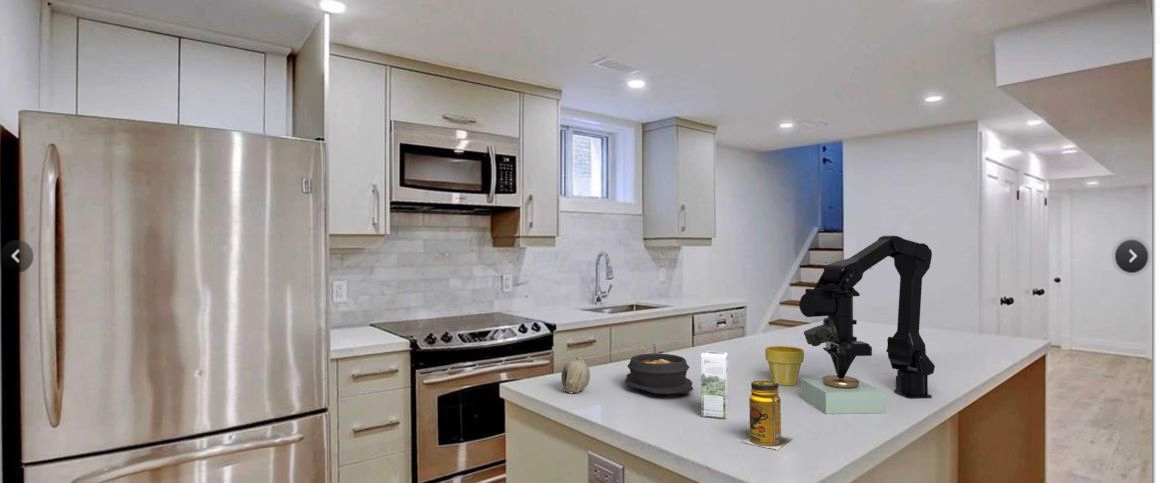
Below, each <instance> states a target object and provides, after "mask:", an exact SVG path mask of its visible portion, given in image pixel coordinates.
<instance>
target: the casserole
mask: <svg viewBox="0 0 1160 483" xmlns="http://www.w3.org/2000/svg"><path fill="white" fill-rule="evenodd" d="M627 368H628V369H629V371H630V373H628V374H626V378H625V380H624V383H625V385H627V386H629V387H631V388H634V389H637V390H639V391H641V392H644V391H645V393H649V392H650V394H655V395H656V394H657V395H676V394H685V393H689V392H692V391H693V390H694V387H693V386H692V385H693V381H692V380H691V379H690V378H688V377H686V376H687V372H688V370H689V369H690V366H689V364H688V363H687V360H686V358H685V357H683V356H680V355H676V354H668V353H643V354H637V355H634V356H632V357H631V358H630V362H629V363H628V364H627Z"/></svg>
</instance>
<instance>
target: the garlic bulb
mask: <svg viewBox="0 0 1160 483" xmlns="http://www.w3.org/2000/svg"><path fill="white" fill-rule="evenodd" d="M590 378H591V374H590V368H589V366H588V365H587V362H586V361H585V360H584V358H583V357H581V356H577V357H576V358H575V359H574V360H572V361H568V362H567V363H566V364H565V365H564V366H563V369H562V371H561V384H562V386H563V389H564V390H565V391H566V392H565V393H567V392H574V393H573V394H577V393H580V392H579V391H581V392H583V391H584V389H585V388H587V387H588V386H589V384H590ZM564 390H563V391H564ZM582 390H583V391H582Z"/></svg>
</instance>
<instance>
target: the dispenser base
mask: <svg viewBox="0 0 1160 483" xmlns="http://www.w3.org/2000/svg"><path fill="white" fill-rule="evenodd" d="M858 380H859V386H858V387H855V388H839V387H833V386H828V385H826V384H824V383H823V377H821V378H818V377H815V378H814V377H813V378H809V377H808V378H800V398H801V399H802V400H803V401H805V402H806V403H808V404H809V405H811V406H813V407H814V408H816V409H817V410H819V411H821V412H822V413H824V414H825V415H841V414H842V415H846V414H852V415H853V414H885V412H886V411H885V409H886V408H885V407H886V405H885V404H886V403H885V402H886V400H885V399H886V398H885V391H884V390H881V389H879V388H877V387H875V386H873V385H871V384H868V383H867V382H865V381H862V380H860V379H858Z"/></svg>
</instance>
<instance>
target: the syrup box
mask: <svg viewBox="0 0 1160 483" xmlns="http://www.w3.org/2000/svg"><path fill="white" fill-rule="evenodd" d="M728 357H729V356H728V352H726V351H725V352H724V351H710V350H709V351H708V350H703V351H702V352H701V354H700V396H701V397H700V400H701V401H700V405H701V406H700V409H701V410H700V411H701V413H700V414H701V417H702V418H703V417H704V418H711V419H712V418H713V419H727V417H728V416H727V415H728V412H729V403H728V400H729V398H728V397H729V396H728V394H729V393H728V392H729V391H728V390H729V389H728V382H729V380H728V378H729V377H728V376H729V375H728V374H729V373H728V369H729V368H728V366H729V364H728Z"/></svg>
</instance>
